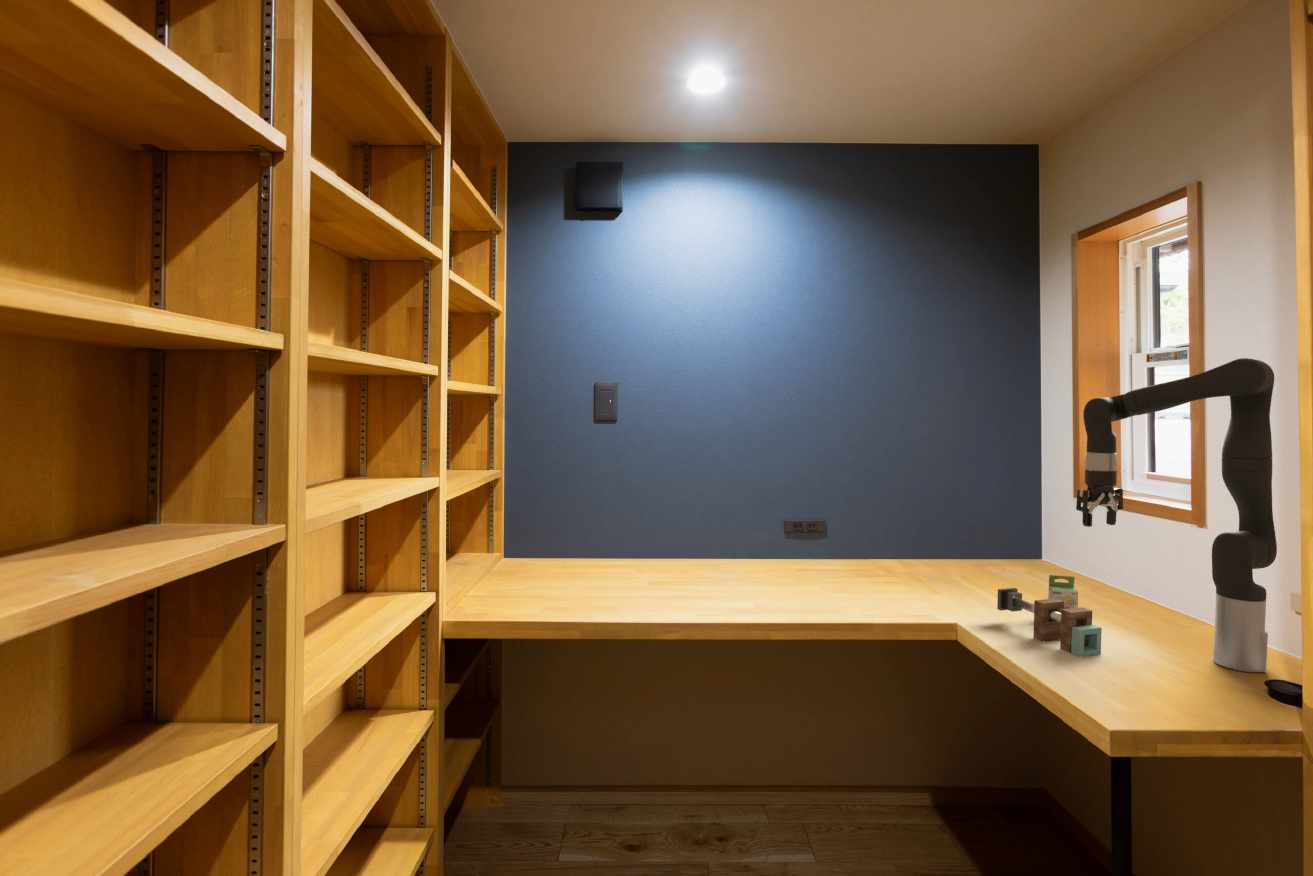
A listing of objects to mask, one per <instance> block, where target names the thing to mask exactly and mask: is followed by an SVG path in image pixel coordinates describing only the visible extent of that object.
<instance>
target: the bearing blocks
mask: <svg viewBox="0 0 1313 876" xmlns="http://www.w3.org/2000/svg"><path fill="white" fill-rule="evenodd" d="M1033 604H1034V613H1033V639H1034V640H1036V641H1039V642H1042V643H1044V642H1045V643H1047V642H1054V641H1060V643H1059V644H1060V645H1059V649H1060V651H1064V652H1066V653H1068V654H1071V642H1072V627H1076V619H1078V621H1079V624H1078V626H1085V625H1093V610H1092V609H1088V608H1085V607H1082V606H1081V607H1079V606H1078V608H1070V609H1064V601H1062V600H1058V599H1055V598H1052V599H1048V598H1044V599H1034V602H1033ZM1048 609H1050V610H1053V611H1056V612H1058V613H1061V623H1060V622H1057V621H1055V620H1052V619H1049V618H1048ZM1088 638H1089V634H1088V635H1084V647H1086V646H1088Z"/></svg>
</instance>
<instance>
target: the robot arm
mask: <svg viewBox="0 0 1313 876" xmlns="http://www.w3.org/2000/svg"><path fill="white" fill-rule="evenodd" d="M1274 384H1275V372H1274V370H1273V368H1272V367H1271V366H1270V365H1269V364H1267V363H1266V362H1265V361H1262V360H1258V359H1254V358H1249V357H1248V358H1247V357H1244V358H1237V359H1234V360H1232V361H1229V362H1226V363H1224V364H1222V365H1219V366H1217V367H1214V368H1212V369H1211V368H1210V369H1209V370H1206V371H1203V372H1201V373H1197V374H1195V375H1191V376H1188V377H1183V378H1179V379H1175V380H1172V381H1166V382H1161V383H1158V384H1156V383H1155V384H1153V385H1148V386H1145V387H1144V386H1143V387H1141V388H1137V389H1136V388H1135V389H1132V390H1128V391H1127V392H1125V393H1124V394H1118V395H1114V396H1110V397H1109V396H1107V397H1094V398H1091V399H1090V400H1087V403H1085V406H1084V409H1083V422H1084V427H1085V428H1084V429H1085V433H1086V454H1085V460H1084V461H1085V463H1084V484H1085V485H1086V486H1087V488H1086V489H1078V490H1077V492H1076V493H1077V495H1076V507H1075V510H1077V511H1079V512H1081V513H1082V525H1083V526H1084V527H1087V528H1089V527H1091V528H1092V526H1093V511H1094V509H1095V508H1098V506H1100V505H1102V506H1104V507H1105V508H1106V510H1107V511H1106V522H1105V523H1106V524H1107V525H1109V526H1115V525H1116V522H1117V512H1119V510H1123V509H1124V490H1123V488H1118V487H1116V486H1117V484H1118V483H1117V481H1118V479H1117V478H1118V456H1117V444H1118V443H1117V442H1118V440H1117V434H1116V433H1115V432H1113V424H1112V423H1113V422H1117V421H1121V420H1124V419H1128V418H1131V417H1134V416H1141V415H1142V416H1143V415H1146V414H1147V415H1148V414H1151V413H1155V412H1156V413H1157V412H1161V411H1165V410H1168V409H1172V408H1175V407H1178V406H1181V405H1185V404H1188V403H1191V402H1195V401H1200V400H1205V399H1210V398H1217V397H1218V398H1219V397H1220V398H1221V397H1228V396H1229V403H1230V419H1229V423H1228V427H1227V429H1226V430H1227V431H1226V434H1225V437H1224V440H1223V445H1222V449H1221V476H1222V480H1223V482H1224V485H1225V487H1226V489H1227V490H1228V492H1229V494H1230V496H1231V497H1232V499H1233V500H1234V502H1235V504H1236V507H1237V510H1238V530H1236V531H1233V530H1232V531H1225V532H1221V533H1220V534H1218V535H1217V536H1216V537H1215V538H1214V540H1213V542H1212V546H1211V575H1212V576H1211V577H1212V581H1213V583H1214V586H1215V589H1216V590H1215V609H1214V610H1215V611H1214V612H1215V613H1214V634H1213V635H1214V637H1213V662H1214V664H1217V665H1220V667H1221V666H1222V667H1224V668H1227V669H1230V670H1235V671H1240V672H1245V673H1265V674H1266V673H1267V667H1268V666H1267V661H1268V643H1269V642H1268V641H1269V639H1268V638H1269V635H1268V632H1266V612H1267V611H1266V610H1267V609H1266V608H1267V589H1266V588H1265V587H1264V586H1262V585H1260V584H1257V583H1255V581H1254V577H1253V576H1254V573H1253V570H1257V569H1259V570H1260V569H1265V568H1268V567H1270V566H1272V565H1273V563H1274V562H1275V560H1276V558H1277V553H1278V544H1277V538H1276V529H1275V523H1274V521H1275V520H1274V514H1273V486H1272V485H1273V482H1272V481H1273V444H1272V429H1271V418H1270V417H1271V405H1272V399H1273V398H1272V396H1273V391H1274V387H1275V386H1274Z"/></svg>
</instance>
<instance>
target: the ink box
mask: <svg viewBox="0 0 1313 876" xmlns="http://www.w3.org/2000/svg"><path fill="white" fill-rule="evenodd" d="M1055 580H1064V581H1068V582H1061V581H1055ZM1047 596H1048V598H1047V599H1052V598H1055V599H1058V600H1062V601H1064V609H1070V608H1079V592H1078V590H1076V588H1075V576H1071V575H1069V576H1068V575H1055V574H1049V575H1048V595H1047Z"/></svg>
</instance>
